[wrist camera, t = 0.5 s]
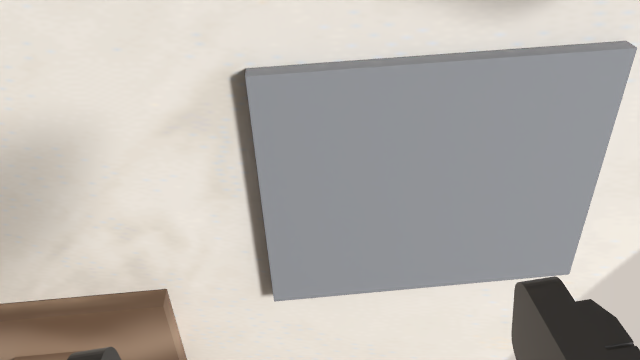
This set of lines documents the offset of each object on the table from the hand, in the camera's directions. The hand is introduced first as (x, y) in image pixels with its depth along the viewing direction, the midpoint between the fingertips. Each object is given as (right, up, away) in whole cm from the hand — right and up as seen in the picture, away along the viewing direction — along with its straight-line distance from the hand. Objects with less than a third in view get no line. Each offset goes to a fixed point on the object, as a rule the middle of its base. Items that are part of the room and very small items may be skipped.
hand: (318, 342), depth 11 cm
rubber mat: (+7, +3, +22) cm, 23 cm away
